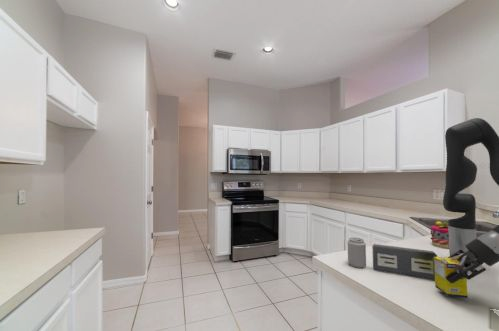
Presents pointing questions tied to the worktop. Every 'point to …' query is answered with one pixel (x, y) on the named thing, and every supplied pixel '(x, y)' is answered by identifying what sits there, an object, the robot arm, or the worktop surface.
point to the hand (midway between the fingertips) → (444, 275)
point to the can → (356, 252)
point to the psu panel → (404, 261)
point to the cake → (440, 235)
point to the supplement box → (450, 289)
